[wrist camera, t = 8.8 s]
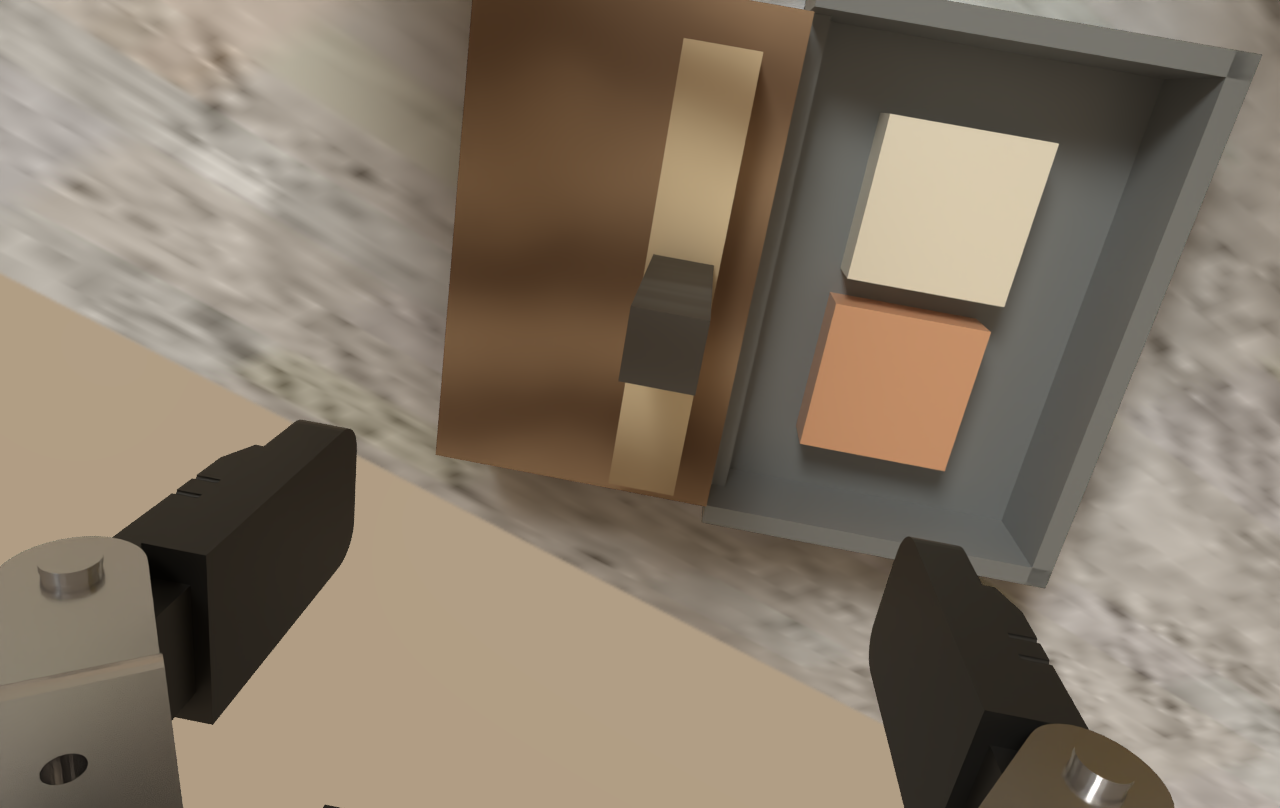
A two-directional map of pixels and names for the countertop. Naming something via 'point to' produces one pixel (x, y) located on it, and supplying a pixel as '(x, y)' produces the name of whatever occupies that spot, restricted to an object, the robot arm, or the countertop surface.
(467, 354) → the stepped wooden block
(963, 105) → the box
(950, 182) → the tile
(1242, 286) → the countertop surface
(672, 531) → the countertop surface
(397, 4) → the countertop surface
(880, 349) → the tile
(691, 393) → the t-shaped block
